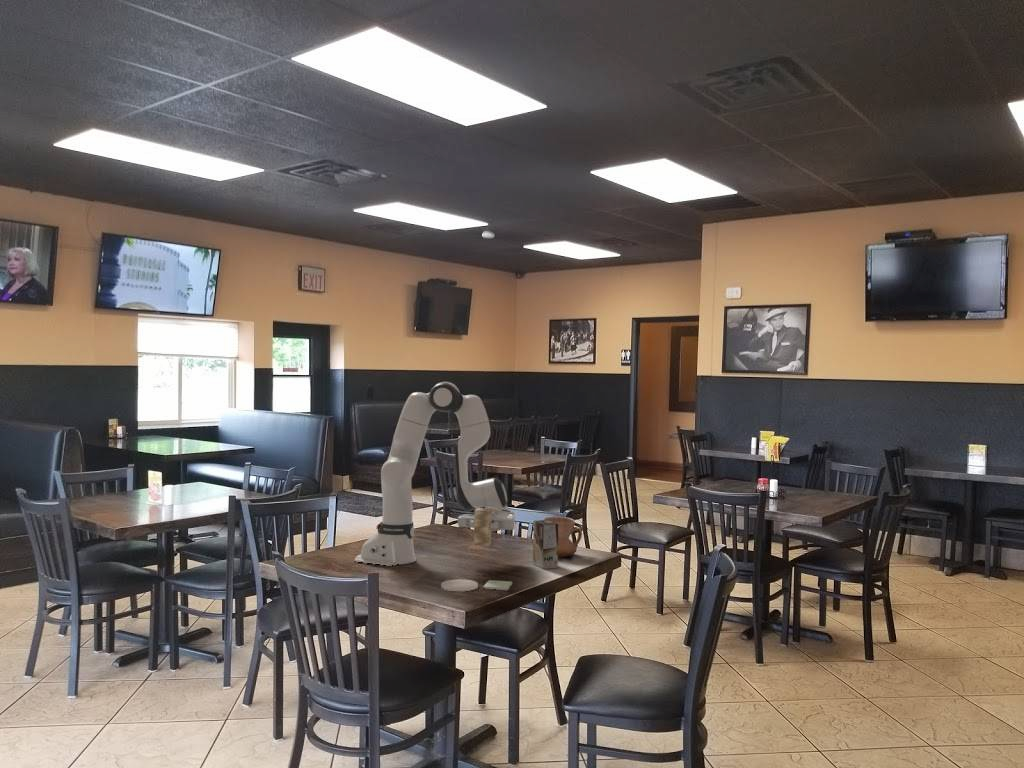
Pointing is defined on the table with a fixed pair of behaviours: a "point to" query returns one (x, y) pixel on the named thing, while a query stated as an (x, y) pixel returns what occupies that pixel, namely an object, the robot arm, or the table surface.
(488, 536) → the maple block
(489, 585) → the sage coaster
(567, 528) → the ceramic jug
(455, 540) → the table surface
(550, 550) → the coffee box
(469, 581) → the cream saucer
